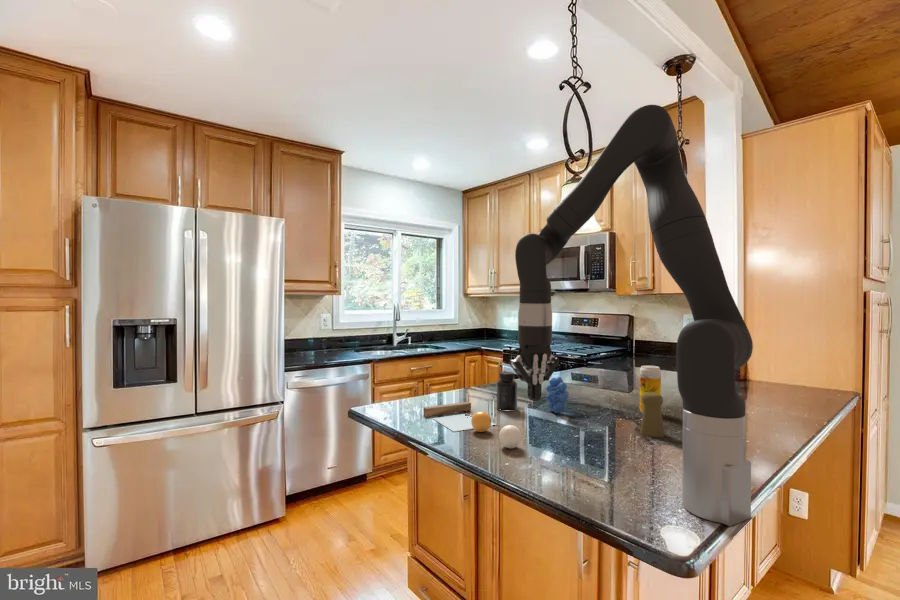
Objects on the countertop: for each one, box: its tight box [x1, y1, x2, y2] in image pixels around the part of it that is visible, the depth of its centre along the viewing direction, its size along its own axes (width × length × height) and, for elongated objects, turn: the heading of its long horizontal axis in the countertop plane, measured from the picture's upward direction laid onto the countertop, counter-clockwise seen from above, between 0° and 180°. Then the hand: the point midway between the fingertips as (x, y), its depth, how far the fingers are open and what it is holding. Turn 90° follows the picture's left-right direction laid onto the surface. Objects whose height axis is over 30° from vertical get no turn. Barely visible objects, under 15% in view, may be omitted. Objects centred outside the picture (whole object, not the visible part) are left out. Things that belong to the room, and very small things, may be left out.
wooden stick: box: [422, 401, 472, 418], centre depth 135 cm, size 2×16×2 cm, turn 116°
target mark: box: [432, 413, 497, 433], centre depth 125 cm, size 14×14×1 cm
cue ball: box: [498, 424, 523, 449], centre depth 104 cm, size 6×6×6 cm
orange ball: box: [471, 410, 492, 433], centre depth 116 cm, size 6×6×6 cm
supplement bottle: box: [496, 371, 518, 411], centre depth 140 cm, size 7×7×12 cm
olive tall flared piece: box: [639, 393, 665, 438], centre depth 115 cm, size 6×6×11 cm
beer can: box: [639, 364, 662, 415], centre depth 135 cm, size 6×6×15 cm
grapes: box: [545, 376, 569, 414], centre depth 135 cm, size 12×7×12 cm, turn 14°
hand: (534, 400), depth 95 cm, fingers closed
